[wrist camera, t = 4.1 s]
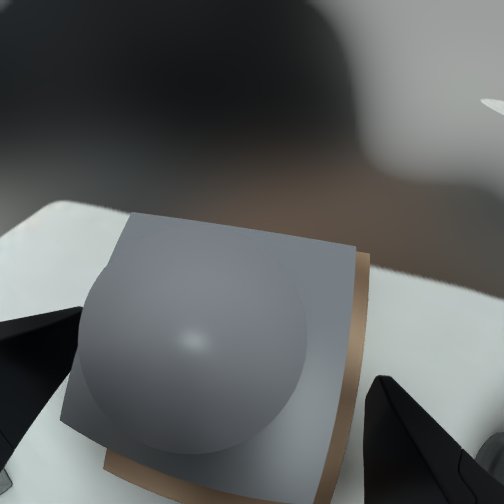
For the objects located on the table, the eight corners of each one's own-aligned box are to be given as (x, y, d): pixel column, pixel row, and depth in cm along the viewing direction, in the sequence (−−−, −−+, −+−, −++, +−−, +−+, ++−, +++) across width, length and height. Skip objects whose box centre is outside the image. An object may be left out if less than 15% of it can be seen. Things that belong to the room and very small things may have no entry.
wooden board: (315, 514, 10) (336, 561, 5) (119, 463, 12) (60, 480, 7) (360, 268, 18) (393, 214, 12) (184, 238, 19) (157, 180, 14)
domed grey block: (286, 442, 11) (325, 534, 2) (168, 413, 12) (17, 417, 3) (309, 329, 14) (374, 208, 5) (197, 307, 15) (109, 176, 6)
